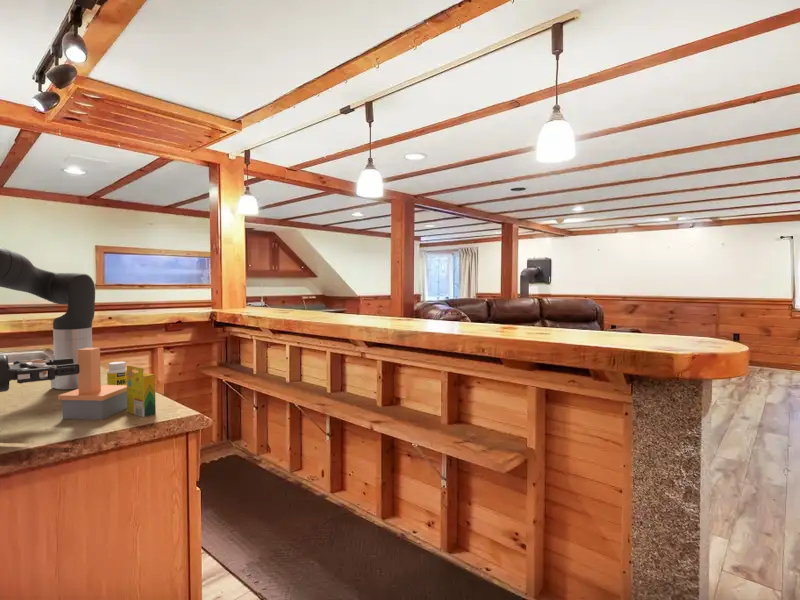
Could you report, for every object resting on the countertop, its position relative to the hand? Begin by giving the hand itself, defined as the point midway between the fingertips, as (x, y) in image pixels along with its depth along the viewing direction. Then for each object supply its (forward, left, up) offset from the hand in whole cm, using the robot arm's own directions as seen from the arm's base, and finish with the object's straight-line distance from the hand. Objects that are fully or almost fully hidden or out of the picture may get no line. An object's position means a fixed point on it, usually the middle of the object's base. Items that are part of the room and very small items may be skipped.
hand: (76, 365), depth 101 cm
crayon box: (+12, +5, -13) cm, 18 cm away
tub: (+2, +4, -12) cm, 13 cm away
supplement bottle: (-7, +25, -13) cm, 29 cm away
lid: (+2, +4, -7) cm, 9 cm away
